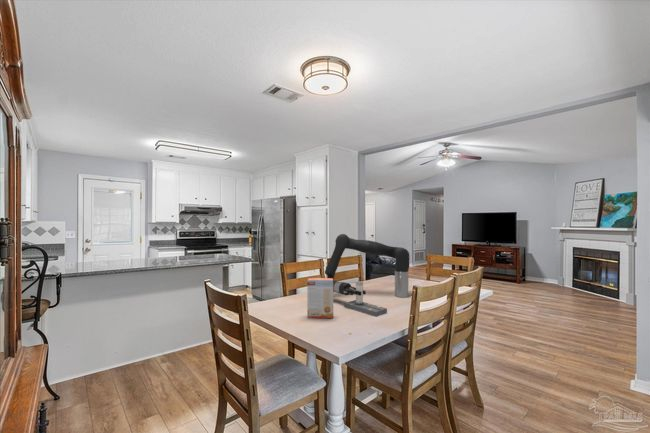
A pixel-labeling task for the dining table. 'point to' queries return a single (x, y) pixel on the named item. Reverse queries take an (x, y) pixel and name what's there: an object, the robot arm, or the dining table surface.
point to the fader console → (366, 308)
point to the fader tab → (360, 297)
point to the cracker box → (320, 297)
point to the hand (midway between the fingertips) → (363, 293)
